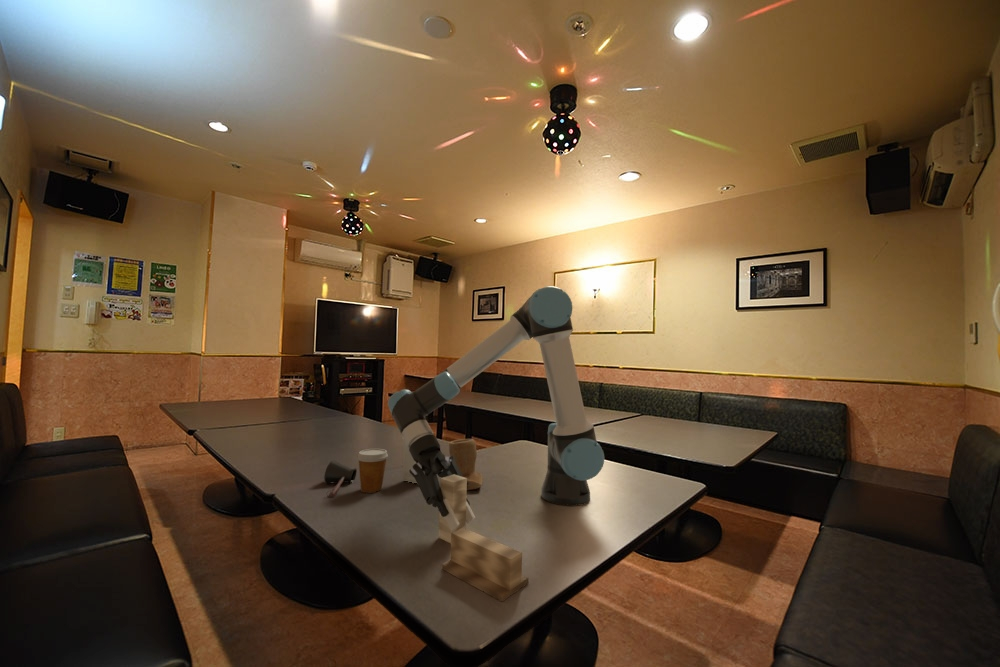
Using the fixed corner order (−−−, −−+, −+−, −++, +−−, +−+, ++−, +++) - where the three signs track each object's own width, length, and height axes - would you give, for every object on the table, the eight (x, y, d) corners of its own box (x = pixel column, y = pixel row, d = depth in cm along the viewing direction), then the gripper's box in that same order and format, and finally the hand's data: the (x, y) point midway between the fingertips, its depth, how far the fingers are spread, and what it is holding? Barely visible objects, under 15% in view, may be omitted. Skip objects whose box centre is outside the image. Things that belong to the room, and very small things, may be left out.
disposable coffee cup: (393, 488, 129) (394, 451, 130) (369, 497, 121) (370, 456, 122) (373, 483, 135) (374, 446, 135) (349, 490, 127) (350, 452, 127)
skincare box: (431, 481, 138) (432, 437, 139) (419, 485, 133) (421, 440, 134) (412, 477, 142) (414, 434, 143) (400, 481, 137) (402, 437, 138)
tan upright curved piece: (449, 477, 143) (451, 434, 144) (483, 477, 143) (484, 435, 144) (444, 491, 128) (445, 444, 129) (481, 492, 128) (482, 445, 129)
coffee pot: (332, 477, 139) (356, 481, 139) (305, 503, 121) (333, 508, 121) (335, 456, 138) (359, 460, 138) (309, 479, 120) (336, 484, 120)
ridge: (442, 569, 82) (443, 536, 82) (469, 554, 88) (470, 524, 88) (502, 601, 71) (502, 564, 72) (528, 582, 77) (529, 548, 78)
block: (452, 531, 99) (454, 474, 100) (465, 537, 96) (467, 478, 97) (438, 537, 96) (440, 478, 96) (451, 543, 93) (453, 482, 93)
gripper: (439, 445, 113) (480, 521, 102) (386, 455, 100) (426, 544, 88) (453, 428, 110) (496, 505, 99) (400, 437, 97) (443, 527, 85)
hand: (463, 523), depth 94 cm, fingers closed on block, 4 cm apart
